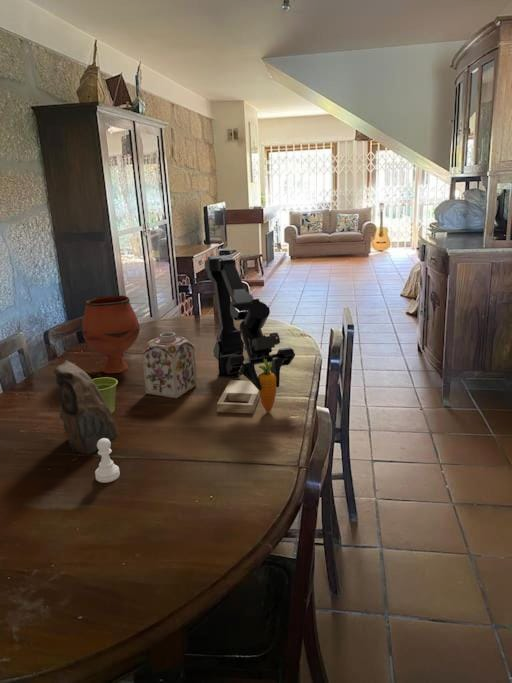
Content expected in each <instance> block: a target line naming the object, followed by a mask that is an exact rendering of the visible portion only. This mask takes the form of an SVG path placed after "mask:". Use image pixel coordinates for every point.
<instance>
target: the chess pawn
mask: <svg viewBox="0 0 512 683" xmlns="http://www.w3.org/2000/svg"><path fill="white" fill-rule="evenodd" d="M111 444H112V442H111V441H109V439H107V438H102V439H100V440H99V441H98V443H97V448H98V449H97V450H98V451H97V455H99V456H100V457H101V459H100V462H99V464H98V468H96V469H95V471H94V474H95V481H98V483H102V484H103V483H111V482H115V481H116V480H118V478H119V477H120V475H121V473H120V467H119V466H118V465H116V464H115V463H114V460H112V459H111V458H110V457H111V456H110V454H111V453H112V449H111V446H112V445H111Z"/></svg>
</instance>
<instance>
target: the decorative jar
mask: <svg viewBox="0 0 512 683" xmlns="http://www.w3.org/2000/svg"><path fill="white" fill-rule="evenodd" d="M195 354H196V353H195V345H194V344H193V343H192V342H191V341H190V340H188V339H187V338H186V337H184V336H176V333H175V332H173V331H170V332H169V331H168V332H163V333H160V334H159V337H156V338H153V339H151V340H149V341H148V342H147V344H146V346H145V347H144V349H143V350H142V354H141V355H142V365H143V366H142V367H143V376H144V377H143V378H144V385H145V394H147V395H154V396H160V397H166V398H171V399H178V398H180V397H181V396H182V395H184V394H187V392H189V391H190V390H192V389H194V388H195V387H197V385H198V384H197V368H196V365H197V364H196V355H195Z"/></svg>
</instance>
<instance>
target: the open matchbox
mask: <svg viewBox="0 0 512 683" xmlns="http://www.w3.org/2000/svg"><path fill="white" fill-rule="evenodd" d="M259 399H260V393H259V390H258V389H257V388H256V387H255V386H254V384H253V383H252V382H251V381H250V380H235V379H234V380H233V379H231V380H229V382H228V383H227V385H226V387H225V389H223V392H222V394H221V396H220V398H219V399H218V401H217V403H216V410H217V413H234V414H235V413H236V414H237V413H238V414H254V413H255V410H256V406H257V404H258V402H259ZM245 402H247V403H245Z"/></svg>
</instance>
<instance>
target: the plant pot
mask: <svg viewBox="0 0 512 683" xmlns="http://www.w3.org/2000/svg"><path fill="white" fill-rule="evenodd" d="M91 379H92V378H91ZM92 380H93V381H94V383H95V384H96V386H97V387H98V389H99V391H100V393H101V395H102V397H103V399H104V401H105V403H106V405H107V406H108V407H109V409H110V411H111V414H113V413H114V412H115V407H116V404H115V402H116V389H117V385H118V383H119V381H118V379H116V378H114V377H108V376H105V377H97V378H93V379H92Z"/></svg>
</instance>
